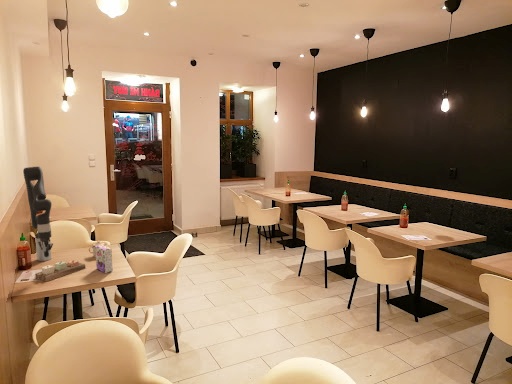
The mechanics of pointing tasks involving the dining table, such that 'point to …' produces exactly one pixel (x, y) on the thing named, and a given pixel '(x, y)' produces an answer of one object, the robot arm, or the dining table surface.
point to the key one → (47, 270)
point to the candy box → (104, 258)
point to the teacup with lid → (94, 247)
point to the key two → (60, 266)
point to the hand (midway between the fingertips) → (46, 256)
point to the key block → (59, 272)
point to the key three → (73, 263)
